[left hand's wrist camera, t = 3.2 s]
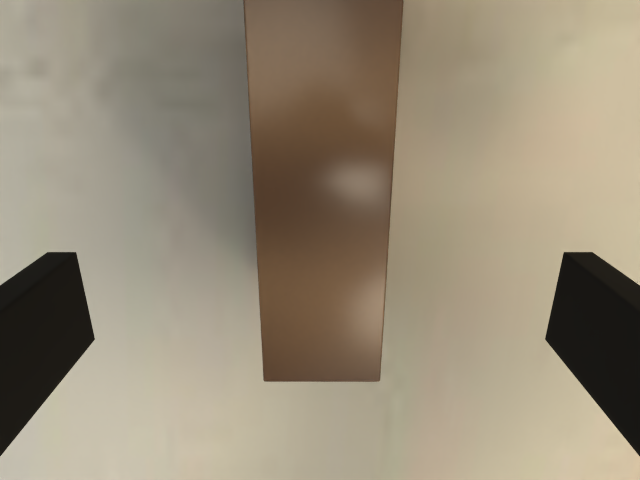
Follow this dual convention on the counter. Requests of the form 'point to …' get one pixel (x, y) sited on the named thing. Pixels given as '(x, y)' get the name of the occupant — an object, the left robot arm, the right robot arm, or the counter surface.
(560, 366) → the counter surface
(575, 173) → the counter surface
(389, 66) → the bar
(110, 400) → the counter surface
